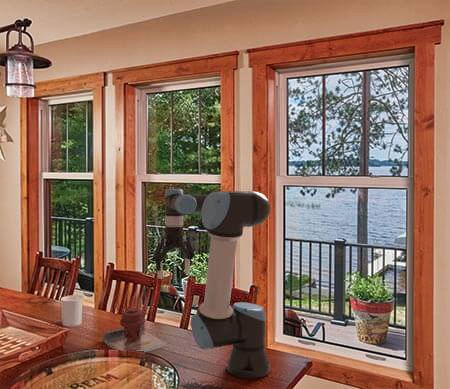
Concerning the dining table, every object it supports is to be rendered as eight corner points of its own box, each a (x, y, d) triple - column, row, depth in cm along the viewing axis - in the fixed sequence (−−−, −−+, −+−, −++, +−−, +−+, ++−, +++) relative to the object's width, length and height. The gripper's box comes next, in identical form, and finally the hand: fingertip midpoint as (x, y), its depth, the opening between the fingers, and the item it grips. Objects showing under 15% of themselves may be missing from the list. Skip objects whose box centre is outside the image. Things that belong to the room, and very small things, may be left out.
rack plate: (166, 346, 178) (166, 336, 178) (125, 357, 167) (125, 347, 166) (142, 332, 193) (142, 323, 193) (103, 341, 182) (103, 332, 182)
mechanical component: (148, 336, 185) (139, 344, 175) (126, 334, 187) (115, 342, 177) (148, 306, 185) (139, 314, 175) (126, 305, 187) (115, 312, 177)
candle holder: (83, 325, 201) (83, 299, 201) (60, 328, 198) (60, 301, 197) (82, 319, 211) (82, 294, 210) (60, 321, 207) (60, 296, 207)
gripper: (193, 223, 196) (192, 270, 197) (143, 226, 180) (143, 278, 181) (203, 224, 191) (203, 273, 191) (152, 228, 175) (152, 282, 175)
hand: (174, 276), depth 186 cm, fingers open, 13 cm apart
